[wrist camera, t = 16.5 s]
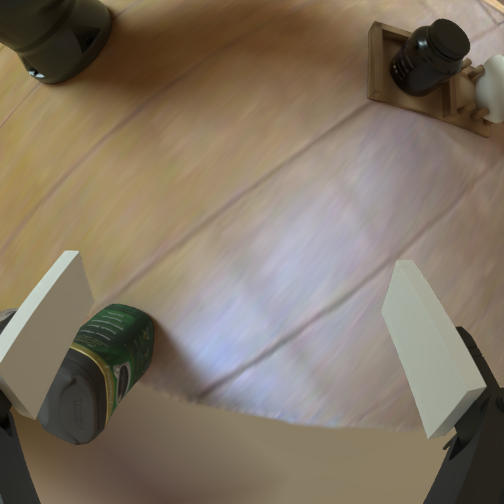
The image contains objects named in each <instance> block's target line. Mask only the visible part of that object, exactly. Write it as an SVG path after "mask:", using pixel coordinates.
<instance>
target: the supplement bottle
mask: <svg viewBox="0 0 504 504" xmlns="http://www.w3.org/2000/svg"><path fill="white" fill-rule="evenodd" d="M469 50H470V42H469V39H468V38H467V35H466V34H465V32H464V31H463V30H462V29H461V28H460V27H459V26H458V25H456V24H455V23H453V22H452V21H450V20H446V19H438V20H436V21H435V22H434V23H433V24H432V25H430V26H422V27H419V28H417V29H416V30H415V31H414V32H413V33H412V34H411V36H410V37H409V38H408V39H407V41H406V42H405V43H404V44H403V46H402V47H401V48H400V49H399V51H398V52H397V53H396V54H395V56H394V57H393V59H392V60H391V63H390V73H391V76H392V79H393V81H394V82H395V84H396V85H397V86H398V87H399V88H400V89H401V90H402V91H404V92H405V93H407V94H409V95H411V96H414V97H424V96H427V95H429V94H430V93H432V92H433V91H434V90H436V89H437V88H438V87H440V86H441V85H443V84H444V83H445V82H447V81H448V80H449V79H451V78H452V77H453V76H455V75H456V74H457V73H458V72H459V71H460V69H461V67H462V63H463V58H464V56H466V55H467V54H468V52H469Z"/></svg>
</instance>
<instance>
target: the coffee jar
mask: <svg viewBox="0 0 504 504" xmlns="http://www.w3.org/2000/svg"><path fill="white" fill-rule="evenodd" d="M153 342H154V331H153V324H152V322H151V320H150V318H149V317H148V316H147V315H146V314H145V313H144V312H142V311H141V310H139V309H136V308H133V307H130V306H127V305H122V304H111V305H109V306H107V307H106V308H104V309H103V310H101V311H100V312H99V313H97V314H96V315H95V316H94V317H93V318H91V319H90V320H89V321H88V322H87V323H85V324H84V325H83V326H82V327H80V329H79V331H78V332H77V334H76V336H75V338H74V340H73V342H72V344H71V346H70V348H69V349H68V351H67V353H66V355H65V357H64V359H63V361H62V363H61V365H60V367H59V369H58V371H57V373H56V375H55V377H54V380H53V382H52V384H51V386H50V388H49V390H48V392H47V394H46V397H45V399H44V401H43V403H42V405H41V408H40V410H39V412H38V415H37V418H38V419H39V421H40V423H41V424H42V428H43V429H44V430H46V431H47V432H49V433H51V434H52V435H54V436H56V437H58V438H60V439H62V440H64V441H66V442H69V443H71V444H74V445H80V444H86V443H89V442H91V441H92V440H93V439H95V438H96V437H97V436H98V435H99V434H100V433H101V432H102V431H103V430H104V428H105V427H106V425H107V423H108V421H109V419H110V417H111V415H112V413H113V412H114V410H115V408H116V407H117V405H118V404H119V403H120V401H121V400H122V398H123V397H124V396H125V395H126V394H127V393H128V391H129V390H130V389H131V388H132V386H133V385H134V384H135V383H136V382H137V381H138V380H139V379H140V377H141V376H142V375H143V374H144V373H145V371H146V370H147V369H148V367H149V364H150V361H151V357H152V351H153Z"/></svg>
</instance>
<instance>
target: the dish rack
mask: <svg viewBox="0 0 504 504" xmlns="http://www.w3.org/2000/svg"><path fill="white" fill-rule="evenodd" d="M411 34H412V33H411V32H408V31H405V30H402V29H399V28H396V27H393V26H389V25H386V24H383V23H379V22H376V21H375V22H374V23H373V25H372V27H371V28H370V30H369V32H368V92H367V98H369V99H373V100H377V101H380V102H384V103H388V104H391V105H395V106H399V107H402V108H405V109H409V110H412V111H415V112H418V113H422V114H425V115H428V116H431V117H434V118H437V119H440V120H443V121H445V122H448V123H451V124H454V125H456V126H459V127H462V128H464V129H467V130H469V131H472V132H474V133H477V134H479V135H482V136H484V137H486V138H489V137H490V124H492V123H496V124H499V123H503V122H504V56H500V55H496V56H493V57H491V58H489V59H488V60H487V61H486V62H485V63H484V65H479V66H478V67H476V68H474V67H472V66H470V65H471V64H472V62H471V60H470V59H468V58H467V59H465V60H464V61H463V63H462V67H461V69H460V71H459V72H458V73H457V74H456V75H455V76H453V77H452V78H451V79H449V80H448V81H447V82H445V83H444V84H443V85H441V86H440V87H438V88H437V89H436V90H434V91H433V92H432V93H430V94H429V95H427V96H424V97H414V96H411V95H409V94H407V93H405V92H404V91H402V90H401V89H400V88H399V87H398V86H397V85H396V84H395V82H394V81H393V79H392V76H391V73H390V63H391V60H392V59H393V57H394V56H395V54H396V53H397V52H398V51H399V49H400V48H401V47H402V46H403V44H404V43H405V42H406V41H407V39H408V38H409V37H410V36H411Z"/></svg>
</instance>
